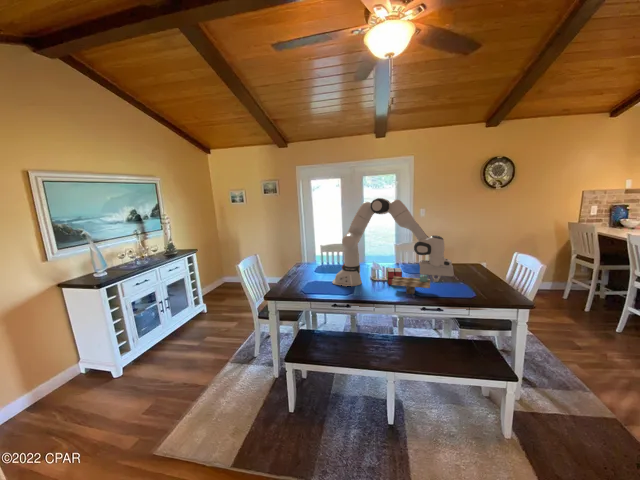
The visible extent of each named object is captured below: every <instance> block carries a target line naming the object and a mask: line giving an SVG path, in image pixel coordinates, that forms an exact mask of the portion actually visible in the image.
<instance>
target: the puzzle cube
mask: <svg viewBox="0 0 640 480" xmlns="http://www.w3.org/2000/svg"><path fill="white" fill-rule="evenodd" d="M386 269H387V271H386V272H387V273H386V274H387V276H386V277H387V279H386V280H387V285H391V286H393V285H392V280H393V277H403V271H402V268H401V267H387V268H386Z"/></svg>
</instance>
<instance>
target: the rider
mask: <svg viewBox="0 0 640 480" xmlns="http://www.w3.org/2000/svg"><path fill="white" fill-rule="evenodd" d="M419 278H420V282H427V279H428V275H423V274H420V275H419Z"/></svg>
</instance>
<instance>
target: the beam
mask: <svg viewBox="0 0 640 480" xmlns="http://www.w3.org/2000/svg"><path fill="white" fill-rule="evenodd" d="M391 286H399V287H400V286H401V287H405V288H406V289H405V291H406V292H405V294H406V295H415V292H416V288H424V289H431V279H430V278H427V282H420V277H419V278H417V277H405V276H404V277H403V276H402V277H393V280H392V285H391Z"/></svg>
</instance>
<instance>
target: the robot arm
mask: <svg viewBox="0 0 640 480" xmlns="http://www.w3.org/2000/svg"><path fill="white" fill-rule="evenodd" d="M375 214H376V215H386V214H389V215H390V216H391V217H392V219H393V220H394V221H395V223H396V225H398V226H399V227H401V228H404V229H406V230H409V231H410V232H411V233H412V234H413V235H414V237H415V238H416V239H417V242H415V243H414V246H413V251H414V252H415V254H417V255H419V256H427V255H428V257H429V259H428V260H427V259H426V260H424V259H423V260H421V261H419V274H420V275H427V276H431V278H432V279H433V282H435V283H438V282H439V280H440V279H441V277H454V275H455V273H454V266H453V263H452V260H451V259H448V258H446V257H445V254H444V252H445V241H444V240H445V239H444V237H442V236H440V235H431V236H428V235H427V234H426V233H425V231H424V230H423V229H422V227H421V226H420V225H419V223H418V222H417V220H415V218H414V217H413V215H412V213H411V212H410V211H409V209H408V208H407V206H406V205H405V204H404V203H403V202H402V201H401V199H397V198H396V199H393V200H392V201H390V200H388V199H386V198H383V197H380V198H379V197H378V198H374V199H373V200H372V201H370V202H369V201H364V202H362V204H361V205H360V206H359V208H358V210H357V212H355V215H354V217H353V219H352V221H351V223H350V226H349V228H348V230H347V232H346V234H345V235H344V236H343V237H342V239H341V240H342V241H341V243H342V249H343V254H344V255H343V256H344V263H343V264H342V266H341V270H340V271H338V272H337V273H336V274H335V278H334V279H332V282H331V283H333V284H332V285H336V286H341V285H342V287H347V286H351V287H356V286H360V285H361V284H363V282H362V278H361V264H360V254H359V246H358V245H359V243H360V241H361V238H362V237H363V235H364V232H365V231H366V228H367V227H368V225H369V223H370V221H371V218H372V217H373V216H374V215H375ZM435 276H437V278H435Z"/></svg>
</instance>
